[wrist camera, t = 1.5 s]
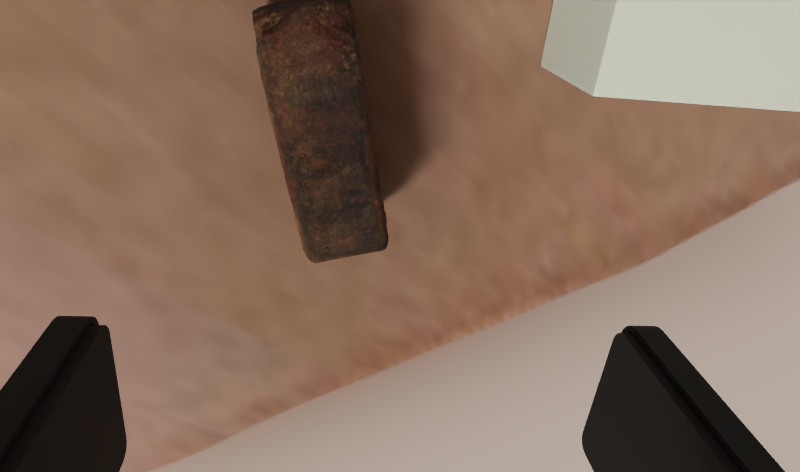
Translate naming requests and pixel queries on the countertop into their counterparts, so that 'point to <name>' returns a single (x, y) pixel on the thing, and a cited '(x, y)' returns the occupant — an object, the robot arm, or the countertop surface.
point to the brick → (322, 125)
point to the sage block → (679, 50)
